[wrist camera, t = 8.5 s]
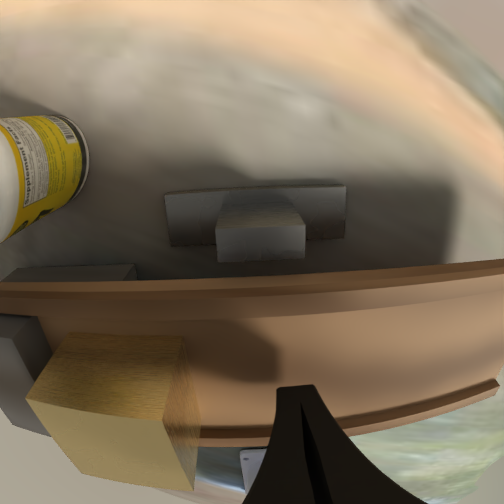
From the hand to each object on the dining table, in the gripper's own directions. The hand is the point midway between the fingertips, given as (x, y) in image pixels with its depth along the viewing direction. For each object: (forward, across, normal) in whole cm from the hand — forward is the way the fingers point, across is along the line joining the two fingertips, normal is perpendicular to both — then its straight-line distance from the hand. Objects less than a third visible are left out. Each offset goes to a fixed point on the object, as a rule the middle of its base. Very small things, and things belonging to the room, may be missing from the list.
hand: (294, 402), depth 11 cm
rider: (+1, +6, 0) cm, 7 cm away
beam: (+6, +1, 0) cm, 6 cm away
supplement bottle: (+6, +11, -9) cm, 16 cm away
